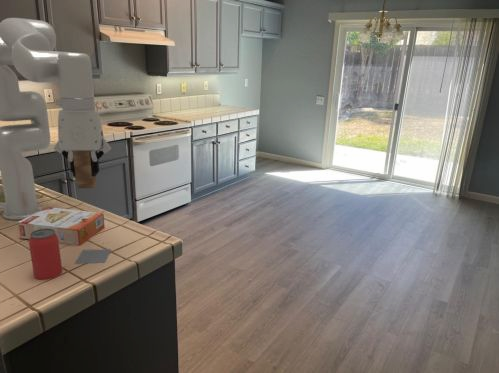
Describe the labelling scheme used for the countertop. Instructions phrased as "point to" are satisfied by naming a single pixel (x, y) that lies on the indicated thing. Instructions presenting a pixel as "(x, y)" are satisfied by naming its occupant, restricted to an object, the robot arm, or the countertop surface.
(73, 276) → the countertop surface
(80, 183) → the walnut block
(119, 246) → the countertop surface
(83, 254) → the mat
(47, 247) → the beer can
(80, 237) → the cracker box
